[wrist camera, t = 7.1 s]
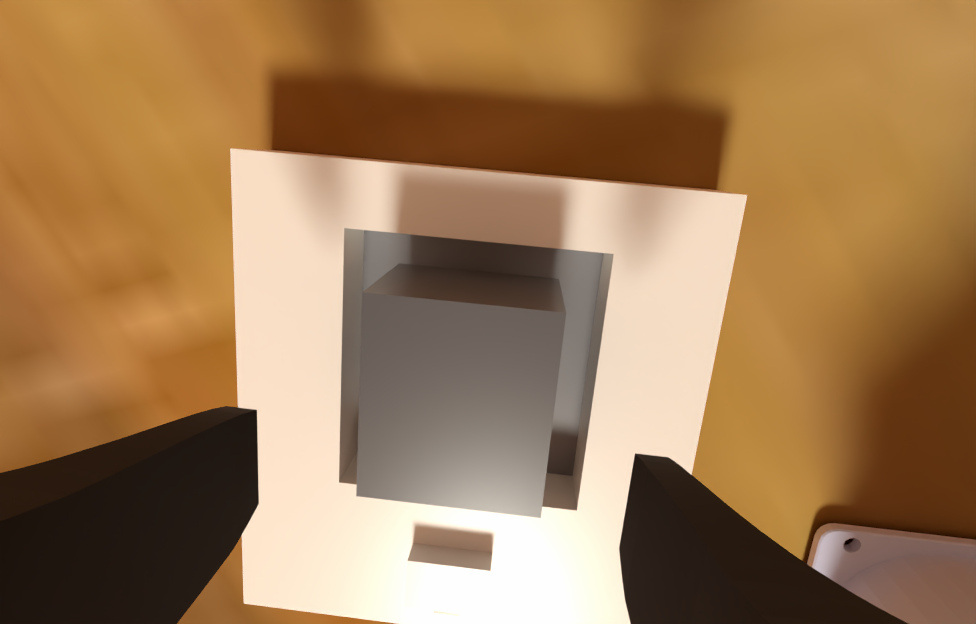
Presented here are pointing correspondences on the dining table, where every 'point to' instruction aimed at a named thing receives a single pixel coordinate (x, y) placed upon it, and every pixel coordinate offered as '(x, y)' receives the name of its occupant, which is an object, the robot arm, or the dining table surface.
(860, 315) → the dining table surface
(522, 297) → the plug
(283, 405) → the socket plate
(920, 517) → the dining table surface
